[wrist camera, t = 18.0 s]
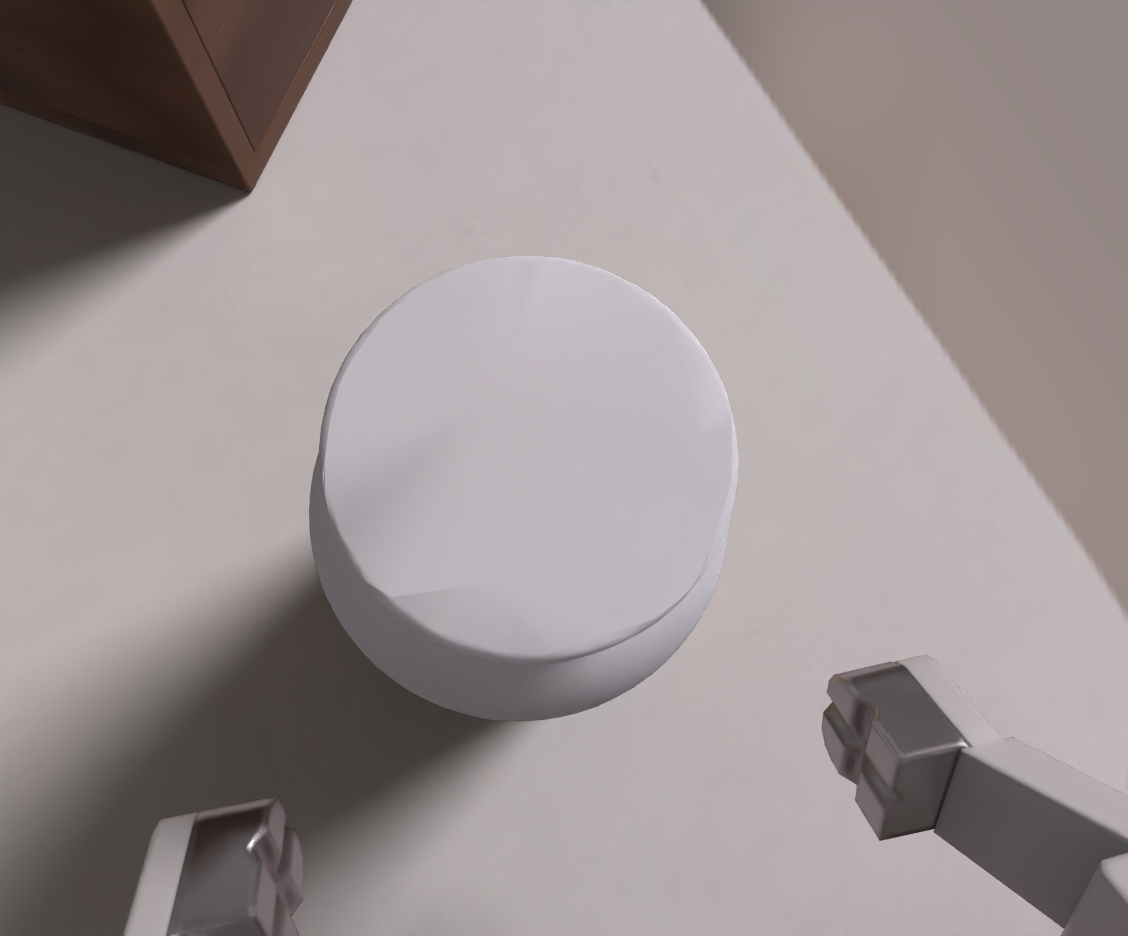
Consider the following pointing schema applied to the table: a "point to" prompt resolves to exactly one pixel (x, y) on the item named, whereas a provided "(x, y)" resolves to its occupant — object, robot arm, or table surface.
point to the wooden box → (168, 73)
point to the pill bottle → (523, 488)
